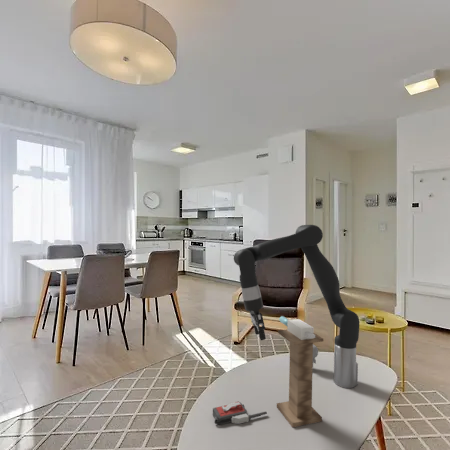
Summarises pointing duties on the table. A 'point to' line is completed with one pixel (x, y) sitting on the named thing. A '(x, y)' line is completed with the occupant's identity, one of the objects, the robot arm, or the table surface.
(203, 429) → the table surface
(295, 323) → the white block with ball
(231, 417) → the walkie-talkie
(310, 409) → the stand
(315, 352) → the figurine
